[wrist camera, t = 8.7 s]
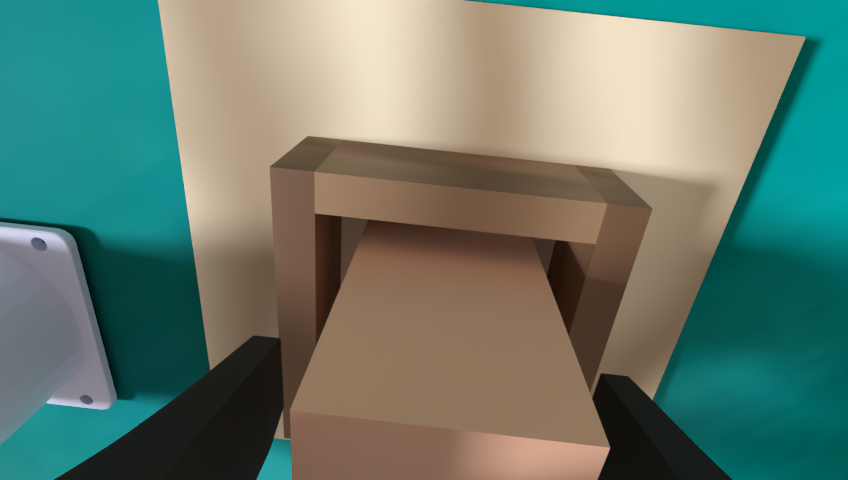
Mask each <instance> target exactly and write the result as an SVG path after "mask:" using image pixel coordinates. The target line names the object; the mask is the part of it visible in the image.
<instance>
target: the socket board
mask: <svg viewBox="0 0 848 480" xmlns="http://www.w3.org/2000/svg"><path fill="white" fill-rule="evenodd" d="M158 3H159V10H160V17H161V24H162V31H163V39H164V46H165V53H166V60H167V67H168V74H169V81H170V88H171V95H172V103H173V110H174V117H175V124H176V131H177V138H178V145H179V152H180V159H181V167H182V174H183V181H184V188H185V195H186V202H187V209H188V216H189V223H190V231H191V238H192V245H193V252H194V259H195V266H196V273H197V280H198V287H199V294H200V302H201V309H202V316H203V323H204V330H205V337H206V344H207V351H208V358H209V366H210V370H211V369H213V368H214V367H215V366H216V365H218V364H219V363H220V362H221V361H222V360H224V359H225V358H226V357H227V356H229V355H230V354H231V353H232V352H233V351H235V350H236V349H237V348H238V347H239V346H241V345H242V344H243V343H244V342H246V341H247V340H248V339H250V338H251V337H252V336H253V335H256V336H265V337H274V338H281V355H282V375H283V394H284V408H283V411H282V414H281V417H280V420H279V423H278V427H277V430H276V433H275V436H274V438H277V439H285V440H291V430H290V408H291V406H292V404H293V401H294V399H295V396H296V394H297V392H298V389H299V387H300V384H301V382H302V379H303V377H304V375H305V372H306V370H307V367H308V365H309V362H310V360H311V358H312V355H313V353H314V350H315V348H316V345H317V343H318V341H319V338H320V336H321V333H322V331H323V329H324V326H325V324H326V321H327V319H328V316H329V314H330V312H331V309H332V307H333V304H334V302H335V299H336V297H337V295H338V292H339V290H340V287H341V285H342V283H343V280H344V278H345V275H346V273H347V270H348V268H349V266H350V263H351V261H352V258H353V256H354V253H355V251H356V249H357V246H358V244H359V241H360V239H361V236H362V234H363V232H364V229H365V227H366V224H367V222H368V220H369V219H370V220H379V221H389V222H398V223H407V224H416V225H425V226H434V227H443V228H452V229H462V230H471V231H480V232H489V233H498V234H507V235H516V236H525V237H532V239H533V242H534V244H535V247H536V250H537V253H538V255H539V258H540V261H541V263H542V266H543V269H544V271H545V274H546V277H547V279H548V282H549V285H550V287H551V290H552V293H553V295H554V298H555V301H556V303H557V306H558V309H559V311H560V314H561V317H562V319H563V322H564V325H565V328H566V330H567V333H568V336H569V338H570V341H571V344H572V346H573V349H574V352H575V354H576V357H577V360H578V362H579V365H580V368H581V370H582V373H583V376H584V378H585V381H586V384H587V386H588V389H589V392H590V394H591V397H593V394H594V391H595V388H596V386H597V383H598V380H599V377H600V374H601V373H604V374H613V375H622V376H628V377H629V378H631V379H632V380H633V381H634V382H635V383H636V384H637V385H638V386H639V387H640V388H641V389H642V390H643V391H644V392H645V393H646V394H647V395H648V396H649V397H650V398H651V399H652V400H653V397H654V395H655V393H656V390H657V388H658V386H659V383H660V381H661V378H662V376H663V374H664V371H665V369H666V367H667V364H668V362H669V359H670V357H671V355H672V352H673V350H674V348H675V345H676V343H677V341H678V338H679V336H680V333H681V331H682V329H683V326H684V324H685V322H686V319H687V317H688V315H689V312H690V310H691V307H692V305H693V303H694V300H695V298H696V296H697V293H698V291H699V289H700V286H701V284H702V281H703V279H704V277H705V274H706V272H707V270H708V267H709V265H710V263H711V260H712V258H713V255H714V253H715V251H716V248H717V246H718V244H719V241H720V239H721V237H722V234H723V232H724V229H725V227H726V225H727V222H728V220H729V218H730V215H731V213H732V211H733V208H734V206H735V203H736V201H737V199H738V196H739V194H740V192H741V189H742V187H743V185H744V182H745V180H746V177H747V175H748V173H749V170H750V168H751V166H752V163H753V161H754V159H755V156H756V154H757V151H758V149H759V147H760V144H761V142H762V140H763V137H764V135H765V132H766V130H767V128H768V125H769V123H770V121H771V118H772V116H773V114H774V111H775V109H776V106H777V104H778V102H779V99H780V97H781V95H782V92H783V90H784V88H785V85H786V83H787V80H788V78H789V76H790V73H791V71H792V69H793V66H794V64H795V62H796V59H797V57H798V54H799V52H800V50H801V47H802V45H803V43H804V40H805V38H806V37H802V36H793V35H784V34H774V33H765V32H755V31H746V30H737V29H727V28H718V27H709V26H699V25H690V24H680V23H671V22H662V21H652V20H643V19H634V18H624V17H615V16H606V15H596V14H587V13H577V12H568V11H559V10H549V9H540V8H531V7H521V6H512V5H503V4H493V3H484V2H474V1H465V0H158Z"/></svg>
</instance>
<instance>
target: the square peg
mask: <svg viewBox="0 0 848 480" xmlns="http://www.w3.org/2000/svg"><path fill="white" fill-rule="evenodd" d="M290 430H291V459H292V480H598V477H599V475H600V472H601V470H602V467H603V465H604V462H605V460H606V457H607V455H608V453H609V450H610V445H609V443H608V440H607V437H606V435H605V432H604V429H603V427H602V424H601V421H600V419H599V416H598V413H597V411H596V408H595V405H594V402H593V400H592V397H591V394H590V392H589V389H588V386H587V384H586V381H585V378H584V376H583V373H582V370H581V368H580V365H579V362H578V360H577V357H576V354H575V352H574V349H573V346H572V344H571V341H570V338H569V336H568V333H567V330H566V328H565V325H564V322H563V319H562V317H561V314H560V311H559V309H558V306H557V303H556V301H555V298H554V295H553V293H552V290H551V287H550V285H549V282H548V279H547V277H546V274H545V271H544V269H543V266H542V263H541V261H540V258H539V255H538V253H537V250H536V247H535V244H534V242H533V239H532V237H525V236H516V235H507V234H498V233H489V232H480V231H471V230H462V229H452V228H443V227H434V226H425V225H416V224H407V223H398V222H389V221H379V220H370V219H369V220H368V222H367V224H366V227H365V229H364V232H363V234H362V236H361V239H360V241H359V244H358V246H357V249H356V251H355V253H354V256H353V258H352V261H351V263H350V266H349V268H348V270H347V273H346V275H345V278H344V280H343V283H342V285H341V287H340V290H339V292H338V295H337V297H336V299H335V302H334V304H333V307H332V309H331V312H330V314H329V316H328V319H327V321H326V324H325V326H324V329H323V331H322V333H321V336H320V338H319V341H318V343H317V345H316V348H315V350H314V353H313V355H312V358H311V360H310V362H309V365H308V367H307V370H306V372H305V375H304V377H303V379H302V382H301V384H300V387H299V389H298V392H297V394H296V396H295V399H294V401H293V404H292V406H291V408H290Z"/></svg>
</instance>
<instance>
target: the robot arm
mask: <svg viewBox="0 0 848 480" xmlns="http://www.w3.org/2000/svg"><path fill="white" fill-rule="evenodd" d="M41 239H42V240H43V241H45V243H46V244H44V243H43V242H42V240H41ZM116 400H117V395H116V391H115V388H114V384H113V380H112V376H111V373H110V369H109V365H108V361H107V357H106V354H105V350H104V346H103V342H102V339H101V335H100V331H99V327H98V324H97V320H96V316H95V312H94V308H93V305H92V301H91V297H90V293H89V290H88V286H87V282H86V278H85V274H84V271H83V267H82V263H81V259H80V256H79V252H78V248H77V244H76V242H75V240H74V238H73V237H72V235H71V234H70V233H68V232H66V231H65V230H62V229H59V228H51V227H41V226H32V225H23V224H14V223H5V222H0V446H1V445H2V444H3V443H4V442H5V441H6V440H7V439H8V438H9V437H10V436H11V435H12V434H13V433H14V432H15V431H16V430H17V429H19V428H20V427H21V426H22V425H23V424H24V423H25V422H26V421H27V420H28V419H29V418H30V417H31V416H32V415H33V414H34V413H35V412H37V411H38V410H39V409H40V408H41V407H42V406H43V405H44V404H45V403H49V404H58V405H67V406H75V407H84V408H93V409H108V408H110V407H111V406H112V405H113V404H114V403H115V401H116ZM592 400H593V402H594V405H595V408H596V411H597V413H598V416H599V419H600V421H601V424H602V427H603V429H604V432H605V435H606V437H607V440H608V443H609V445H610V450H609V453H608V455H607V457H606V460H605V462H604V465H603V467H602V470H601V472H600V475H599V477H598V480H732V479H731V478H730V477H729V476H728V475H727V474H726V473H725V472H724V471H723V470H722V469H721V468H720V467H718V466H717V465H716V464H715V463H714V462H713V461H712V460H711V459H710V458H709V457H708V456H707V455H706V454H705V453H704V452H703V451H702V450H701V449H700V448H699V447H698V446H697V445H696V444H695V443H694V442H693V441H692V440H691V439H690V438H689V437H688V436H687V435H686V434H685V433H684V432H683V431H682V430H681V429H680V428H679V427H678V426H677V425H676V424H675V423H674V422H673V421H672V420H671V419H670V418H669V417H668V416H667V415H666V414H665V413H664V412H663V411H662V410H661V409H660V408H659V407H658V405H657V404H656V403H655V402H654V401H653V400H652V399H651V398H650V397H649V396H648V395H647V394H646V393H645V392H644V391H643V390H642V389H641V388H640V387H639V386H638V385H637V384H636V383H635V382H634V381H633V380H632V379H631V378H629V377H628V376H622V375H613V374H604V373H601V374H600V377H599V380H598V383H597V386H596V388H595V391H594V394H593V397H592ZM283 408H284V394H283V375H282V355H281V338H274V337H265V336H256V335H253V336H252V337H251V338H250V339H248V340H247V341H246V342H244V343H243V344H242V345H241V346H239V347H238V348H237V349H236V350H235V351H233V352H232V353H231V354H230V355H229V356H227V357H226V358H225V359H224V360H222V361H221V362H220V363H219V364H218V365H216V366H215V367H214V368H213V369H211V370H210V371H209V372H208V373H207V374H205V375H204V376H203V377H202V378H200V379H199V380H198V381H197V382H195V383H194V384H193V385H191V386H190V387H189V388H188V389H186V390H185V391H184V392H182V393H181V394H180V395H179V396H177V397H176V398H175V399H174V400H172V401H171V402H170V403H168V404H167V405H166V406H164V407H163V408H162V409H160V410H159V411H157V412H156V413H155V414H153V415H152V416H150V417H149V418H148V419H146V420H145V421H144V422H142V423H141V424H139V425H138V426H137V427H135V428H134V429H132V430H131V431H130V432H128V433H127V434H125V435H124V436H122V437H121V438H119V439H118V440H116V441H115V442H114V443H112V444H111V445H109V446H108V447H106V448H104V449H103V450H101V451H100V452H98V453H97V454H95V455H93V456H92V457H90V458H89V459H87V460H85V461H84V462H82V463H81V464H79V465H77V466H76V467H74V468H73V469H71V470H69V471H68V472H66V473H64V474H63V475H61V476H59V477H58V478H56V479H54V480H256V479H257V477H258V474H259V472H260V470H261V468H262V466H263V464H264V461H265V459H266V457H267V455H268V452H269V450H270V447H271V444H272V441H273V439H274V436H275V433H276V430H277V427H278V423H279V420H280V417H281V414H282V411H283Z"/></svg>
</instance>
